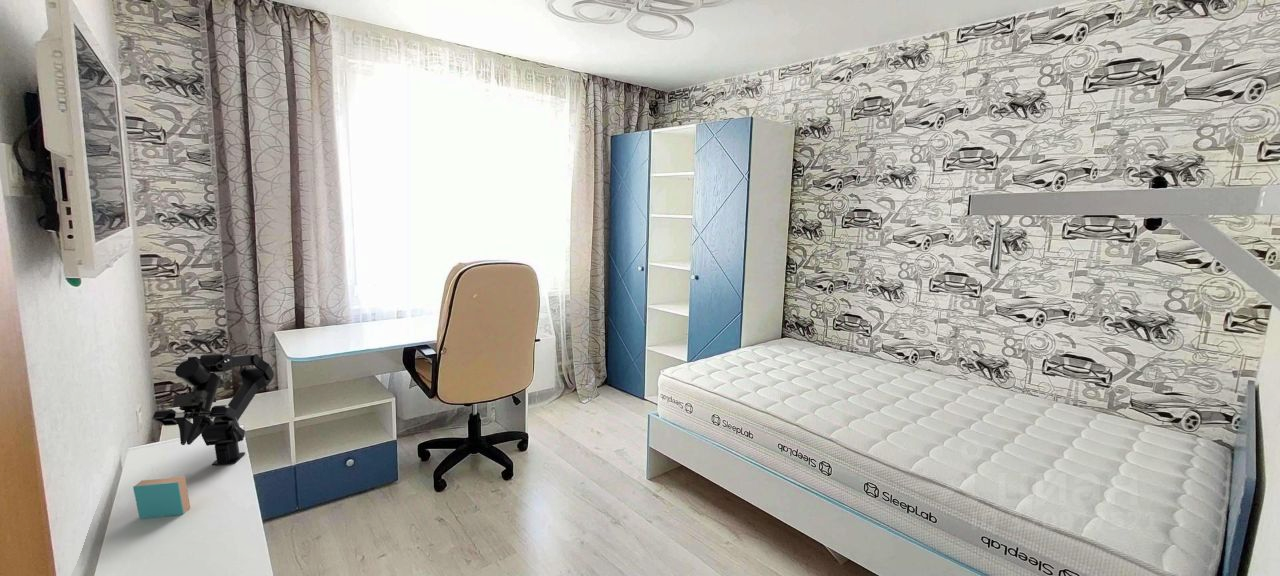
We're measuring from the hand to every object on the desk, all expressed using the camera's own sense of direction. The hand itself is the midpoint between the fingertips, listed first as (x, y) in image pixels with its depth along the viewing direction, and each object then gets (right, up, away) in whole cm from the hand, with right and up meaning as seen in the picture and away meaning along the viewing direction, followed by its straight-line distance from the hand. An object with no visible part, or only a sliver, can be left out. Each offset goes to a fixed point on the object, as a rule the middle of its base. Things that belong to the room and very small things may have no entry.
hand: (185, 444), depth 149 cm
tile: (+2, -15, -9) cm, 18 cm away
